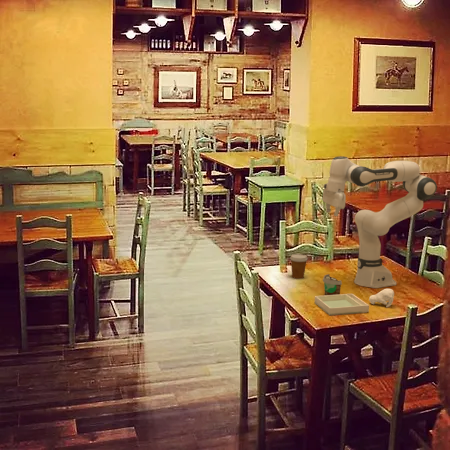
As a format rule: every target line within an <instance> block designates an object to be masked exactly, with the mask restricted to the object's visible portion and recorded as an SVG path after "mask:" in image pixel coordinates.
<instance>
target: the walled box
mask: <svg viewBox="0 0 450 450" xmlns="http://www.w3.org/2000/svg"><path fill="white" fill-rule="evenodd" d="M314 304H315V305H316V306H317V305H318V306H317V307H319V308H320V309H321V310H322V311H323V312H324V313H326V314H327V315H329V316H340V315H351V314H353V315H354V314H355V315H356V314H364V313H367V312H368V313H369V312H370V311H369V310H370V304H369V303H366V302H365V301H364V300H362V299H361V298H359V297H358V296H356V295H355V294H354V293H343V294H342V293H340V295H315V296H314Z"/></svg>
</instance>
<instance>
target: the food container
mask: <svg viewBox="0 0 450 450" xmlns="http://www.w3.org/2000/svg"><path fill="white" fill-rule="evenodd" d="M322 282H323V284H324V285H323V289H324V290H323V291H324V295H323V296H325V295H340V294H341V289H342V285H343V282H342V280H338V279H337V278H336V277H332V276H330V274H329V273H328V274H325V275H324V276H323V278H322Z"/></svg>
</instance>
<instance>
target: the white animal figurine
mask: <svg viewBox="0 0 450 450" xmlns="http://www.w3.org/2000/svg"><path fill="white" fill-rule="evenodd" d="M394 297H395V292H394V290H393V289H392V288H384V289H382V290H381V291H379V292H377V293H376V294H371V295H370V296H369V300H368V301H369V302H370V304H371V305H375V304H376V303H381V304H382V305H385V308H390V307H391V305H392V304H393V302H394Z"/></svg>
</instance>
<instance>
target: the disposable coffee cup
mask: <svg viewBox="0 0 450 450" xmlns="http://www.w3.org/2000/svg"><path fill="white" fill-rule="evenodd" d="M289 259H290V264H291V265H290V266H291V267H290V268H291V276H292V278H293V279H297V280H299V279H301V280H302V279H304V276H305V272H306V265H307V261H308V256H307V255H305V254H301V253H294V254H291V256H290V258H289Z"/></svg>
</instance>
